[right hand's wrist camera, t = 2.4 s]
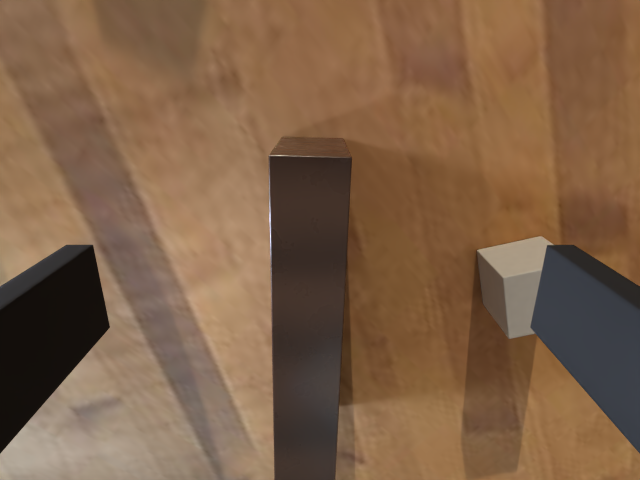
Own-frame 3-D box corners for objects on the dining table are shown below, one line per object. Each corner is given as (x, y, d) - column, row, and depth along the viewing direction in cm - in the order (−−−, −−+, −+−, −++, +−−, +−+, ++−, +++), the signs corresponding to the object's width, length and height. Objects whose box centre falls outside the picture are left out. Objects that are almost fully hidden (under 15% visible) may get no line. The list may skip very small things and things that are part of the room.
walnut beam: (331, 407, 38) (334, 487, 30) (283, 406, 38) (274, 486, 30) (343, 138, 29) (352, 157, 22) (281, 136, 29) (268, 154, 22)
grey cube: (482, 304, 34) (508, 339, 29) (476, 249, 32) (502, 277, 28) (544, 291, 34) (580, 325, 29) (541, 235, 32) (579, 261, 27)
